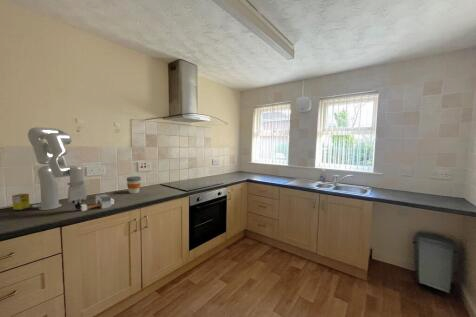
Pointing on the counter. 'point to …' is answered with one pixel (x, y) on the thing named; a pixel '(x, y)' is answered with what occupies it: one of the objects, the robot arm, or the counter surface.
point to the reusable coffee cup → (133, 184)
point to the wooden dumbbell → (84, 206)
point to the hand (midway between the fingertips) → (78, 208)
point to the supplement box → (20, 201)
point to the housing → (103, 200)
